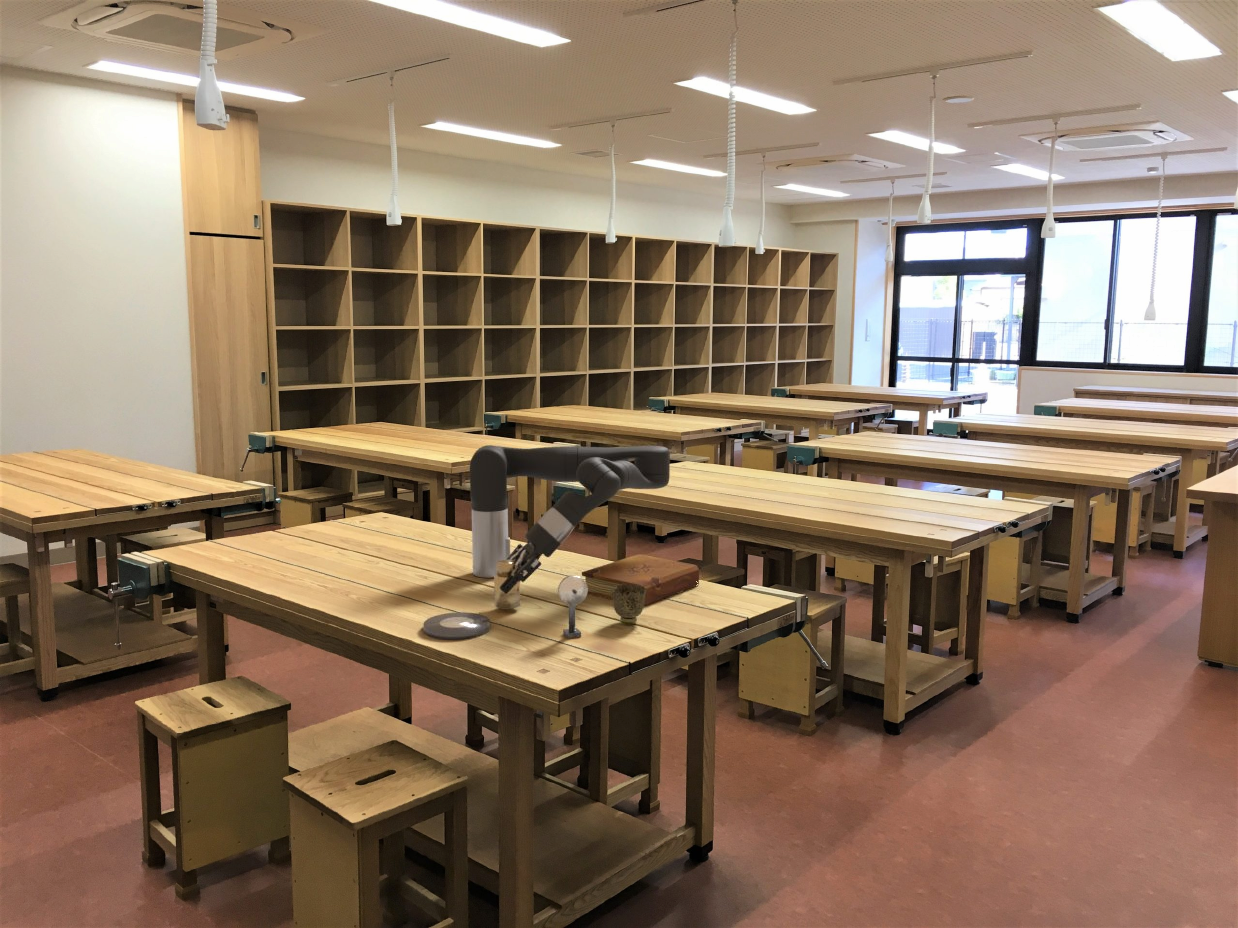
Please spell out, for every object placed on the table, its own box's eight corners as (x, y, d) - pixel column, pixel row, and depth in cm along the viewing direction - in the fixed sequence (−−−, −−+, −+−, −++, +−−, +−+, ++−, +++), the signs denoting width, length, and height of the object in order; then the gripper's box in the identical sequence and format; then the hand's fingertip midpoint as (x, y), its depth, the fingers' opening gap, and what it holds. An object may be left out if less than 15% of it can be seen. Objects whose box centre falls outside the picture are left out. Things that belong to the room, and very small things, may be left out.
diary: (643, 609, 219) (643, 585, 218) (581, 595, 230) (581, 572, 229) (698, 587, 236) (699, 564, 235) (639, 574, 248) (639, 553, 247)
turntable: (483, 616, 211) (482, 609, 211) (496, 635, 198) (496, 628, 198) (419, 622, 207) (419, 615, 206) (428, 642, 194) (428, 635, 193)
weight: (516, 600, 219) (516, 557, 218) (523, 607, 214) (522, 564, 212) (492, 602, 217) (491, 560, 216) (497, 609, 212) (496, 566, 210)
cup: (626, 615, 212) (626, 580, 211) (652, 622, 207) (652, 586, 206) (604, 623, 206) (604, 588, 205) (631, 630, 202) (631, 594, 200)
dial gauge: (583, 631, 201) (583, 572, 199) (589, 637, 197) (589, 576, 195) (556, 634, 199) (555, 574, 197) (561, 640, 195) (561, 579, 193)
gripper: (570, 549, 211) (518, 606, 209) (552, 535, 225) (504, 589, 222) (546, 527, 209) (494, 585, 206) (530, 515, 222) (481, 569, 220)
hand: (499, 587), depth 214 cm, fingers closed on weight, 5 cm apart
